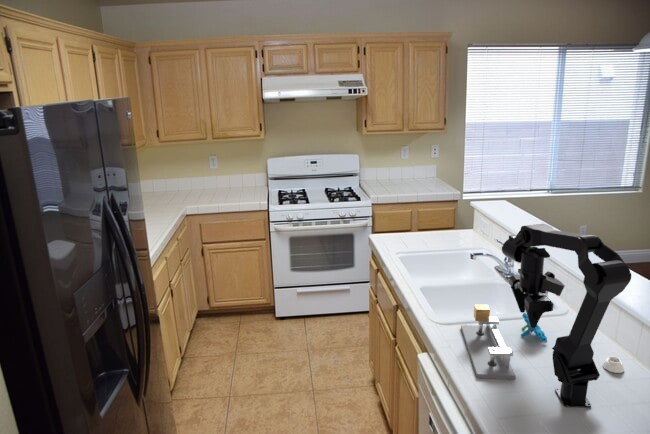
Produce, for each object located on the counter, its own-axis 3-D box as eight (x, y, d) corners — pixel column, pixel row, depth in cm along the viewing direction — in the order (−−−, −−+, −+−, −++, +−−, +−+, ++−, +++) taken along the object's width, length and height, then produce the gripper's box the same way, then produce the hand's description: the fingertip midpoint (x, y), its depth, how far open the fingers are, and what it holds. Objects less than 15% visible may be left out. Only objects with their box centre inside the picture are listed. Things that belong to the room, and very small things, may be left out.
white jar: (598, 364, 130) (612, 375, 125) (599, 355, 129) (613, 366, 124) (613, 362, 131) (628, 372, 126) (615, 353, 130) (629, 363, 125)
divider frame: (512, 367, 127) (513, 353, 126) (489, 366, 128) (490, 353, 127) (493, 327, 148) (494, 314, 147) (474, 326, 149) (474, 314, 148)
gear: (551, 344, 137) (527, 318, 138) (534, 355, 139) (511, 329, 140) (546, 330, 148) (524, 306, 149) (530, 340, 150) (509, 317, 151)
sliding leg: (497, 335, 142) (500, 309, 140) (474, 334, 143) (476, 309, 141) (495, 330, 145) (497, 305, 143) (472, 329, 146) (474, 304, 144)
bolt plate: (515, 379, 124) (515, 375, 124) (477, 377, 126) (477, 373, 125) (492, 329, 149) (492, 325, 149) (460, 328, 150) (461, 324, 150)
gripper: (576, 281, 118) (570, 336, 122) (549, 256, 136) (545, 305, 140) (531, 281, 119) (527, 336, 123) (510, 256, 137) (506, 305, 141)
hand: (527, 319), depth 132 cm, fingers open, 9 cm apart
